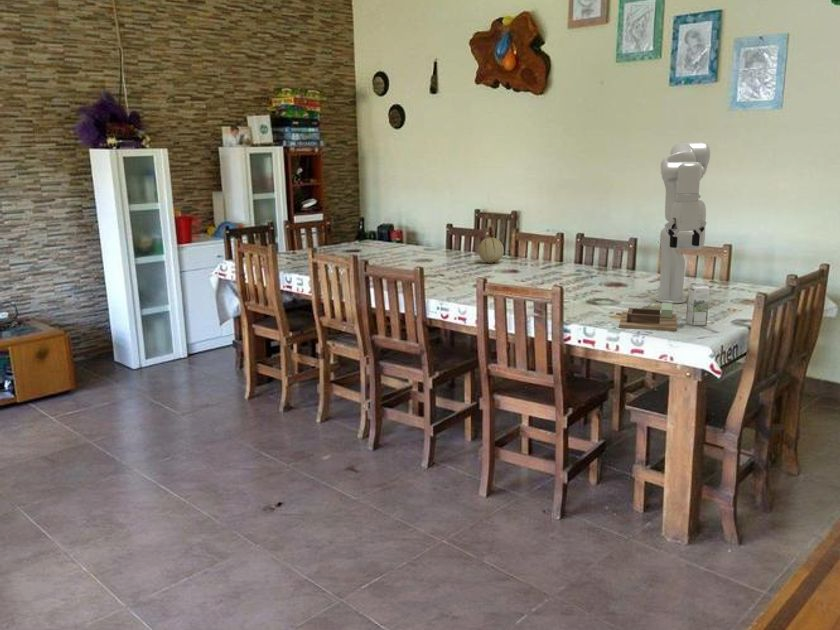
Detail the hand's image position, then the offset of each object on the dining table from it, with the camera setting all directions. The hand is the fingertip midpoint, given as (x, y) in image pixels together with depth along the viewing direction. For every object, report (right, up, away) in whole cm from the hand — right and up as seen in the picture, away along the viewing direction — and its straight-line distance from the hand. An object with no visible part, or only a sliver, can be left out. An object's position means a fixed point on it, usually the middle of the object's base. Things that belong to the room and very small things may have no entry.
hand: (684, 246), depth 262 cm
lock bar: (0, -24, +19) cm, 30 cm away
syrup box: (+7, -28, +8) cm, 30 cm away
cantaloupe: (-54, +5, +154) cm, 163 cm away
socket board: (-9, -27, +13) cm, 31 cm away
